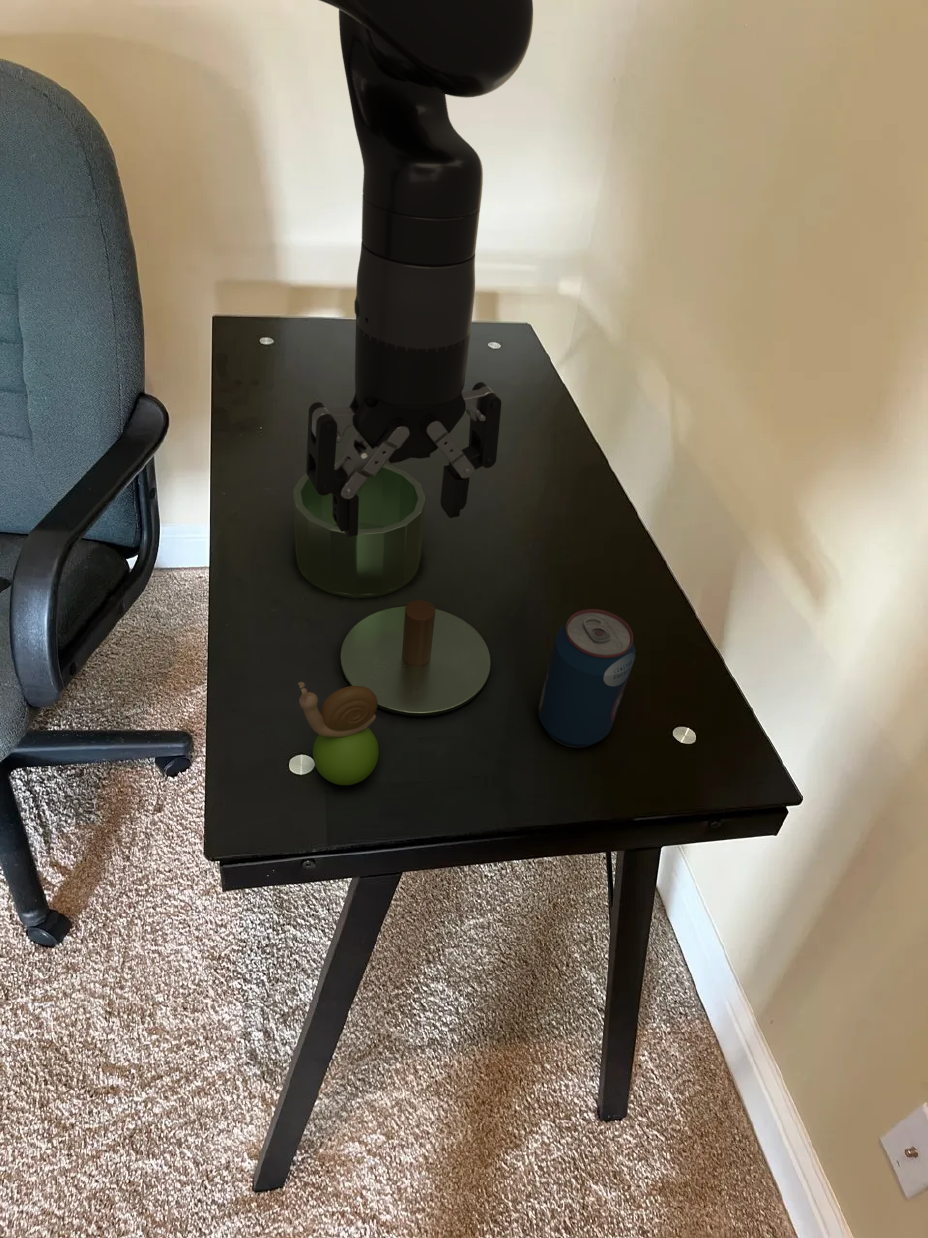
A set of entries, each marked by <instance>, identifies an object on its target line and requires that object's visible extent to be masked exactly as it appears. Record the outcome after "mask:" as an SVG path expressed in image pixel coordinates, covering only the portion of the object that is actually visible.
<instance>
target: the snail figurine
mask: <svg viewBox="0 0 928 1238" xmlns="http://www.w3.org/2000/svg"><path fill="white" fill-rule="evenodd" d="M297 687H298V689H299V690H300V697H299V700H298V702H299V706H300V708H301V709H302V710H303V714H304V717H305V718H306V721H307V724H309V726H310V728H311V729H312V730H313V731H314V732H315V733H316V734H318V735H317V736H316V738H315V741H314V743H313V746H312V747H313V748H312V759H313V763H314V766H315V768H316V770H317V771H318V773H319V774H320V775H321V776H322V777H323V778H324V779H325V780H326V781H328V782H330V783H331V784H335V785H338V786H352V785H355V784H358V783H360V782H362V781H364V780H366V779H367V778H368V777H369V776H370V775H371V773H372V772H373V771H374V770H375V768H376V765H377V763H378V759H379V756H380V755H379V753H380V752H379V751H380V749H379V743H378V740H377V738H376V736H375V734H374V733H373V731H372V730H371V729H370V728H369V726H370V725H372V724H373V723H374V721H375V720H376V718H377V715H376V714H375V713H376V712H377V709H378V707H377V705H378V703H377V698H376V695H375V694H374V693H373V692H372V691H371V690H370V689H368V688H366V687H362V686H350V685H349V686H346V687H345V686H344V687H342V688H340V689H337V690H336V691H334V692H333V693H331V694H330V695H329V696H328V697H327V698H326V699H325V700H324V702H323V704H322V706H321V709H320V710H319V707H318V703H319V698H318V696H317V694H315V693H314V692H311V691H308V689H307V688H306V683H305V682H304V681H299V682H298V684H297Z"/></svg>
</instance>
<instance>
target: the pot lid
mask: <svg viewBox="0 0 928 1238" xmlns="http://www.w3.org/2000/svg"><path fill="white" fill-rule="evenodd" d="M339 661H340V667H341V671H342V675H343V677H344V678H345V680H346V682H347V684H348V685H349V686H362V687H366V688H368V689H370V690H371V691H372V692H373V693H374V694H375V695H376V698H377V703H378V705H377V708H379V709H381V710H384V711H387V712H388V713H389V712H390V713H393V714H398V715H402V716H411V717H426V716H429V717H430V716H436V715H441V714H446V713H449V712H452V711H455V710H456V709H459V708H461V707H463V706H465V705H466V704H468V703H469V702H471V701H472V700H474V698H476V697H477V696H478V695H479V693H481V691H483V689H484V687H485V686H486V683H487V681H488V680H489V676H490V672H491V655H490V651H489V648H488V646H487V643H486V642H485V640H484V638H483V636H482V635H481V634H480V633H479V632H478V631H477V630H476V629H475V628H474V627H473V626H472V625H471V624H469V623H468V622H467V621H465V620H464V619H462V618H460V617H458V616H457V615H455V614H452V613H449V612H448V611H445V610H441V609H437V608H435V606H434V605H433V604H432V603H431V602H429V601H426V600H423V599H417V600H412V601H410V602H408V603H407V605H406V606H405V605H404V606H403V605H402V606H396V607H395V606H394V607H389V608H386V609H382V610H380V611H376V612H375V613H372V614H370V615H368V616H366V617H364V618H363V619H361V620H360V621H359V622H357V623H356V624H354V626H352V628H351V629H350V630H349V631H348V633H347V635H346V636H345V638H344V640H343V642H342V645H341V649H340V659H339Z"/></svg>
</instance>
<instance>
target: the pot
mask: <svg viewBox="0 0 928 1238" xmlns="http://www.w3.org/2000/svg"><path fill="white" fill-rule="evenodd" d="M338 462H339V460H335V466H336V465H337V463H338ZM357 496H358V497H359V509H358V535H357V536H353V537H347V535H346V534H345V532H344V531H343V532H341V531H340V529H339V527H338V526H337V524H336V522H335V520H334V518H333V517H332V506H333V505H332V493H330V494H328V495H325V496H323V495H320V494H318V492H317V491H316V489H315V487H314V486H313V484H312V482H311V480H310V479H309V477H308V475H307V474H306V473H305V474H303V475H301V476H300V478H299V479H298V480H297V483H296V485H295V487H294V488H293V490H292V500H293V501H292V503H293V524H294V525H293V526H294V545H295V547H294V548H295V557H296V564H297V569H298V570H299V572H300V573H301V575H302V577H303V578H304V579H305V580H306V581H307V582H308V583H310V585H312V586H314V587H315V588H317V589H319V590H322V591H323V592H325V593H328V594H331V595H335V596H339V597H344V598H350V599H369V598H375V597H376V598H377V597H381V596H385V595H389V594H392V593H394V592H396V591H398V590H400V589H402V588H403V587H405V586H407V585H408V584H409V583H410V582H411V581H412V580H413V579H414V577H415V576H416V574H417V573H418V570H419V568H420V567H419V566H420V561H421V559H422V549H423V536H424V525H425V524H424V523H425V512H426V501H427V498H426V496H425V493H424V490H423V487H422V485H421V483H420V482H419V481H417V480H416V479H415V478H414V477H413V476H412V475H410V474H409V473H408V472H406V470H405V471H404V470H402V469H400V468H398V467H396V466H393V465H390V464H388V463H387V462H386V463H385V464H384V466H383V467H382V468H381V469H380V471H379V472H378V473H377V475H376V476H375V477H373V478H371V477H370V478H368V479H367V481H366V482H365V483H364V485H363V486H362V487H361V488H360V490H359V491H358V492H357Z"/></svg>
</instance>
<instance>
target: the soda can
mask: <svg viewBox="0 0 928 1238" xmlns="http://www.w3.org/2000/svg"><path fill="white" fill-rule="evenodd" d="M633 633H634V632H633V630H632V628H631V627H630V625H629V624H628V623H627V622H626V621H625V620H624V619H623V618H621V617H620V616H618V615H617V614H615V613H612V612H610V611H607V610H604V609H597V608H596V609H595V608H588V609H582V610H578V611H576V612H574V613H573V614H571V615H570V617H568V619H567V620H566V623H564V624H563V625H562V626H561V627H560V628H559V630H558V631H557V632H556V635H555V638H554V641H553V646H552V651H551V655H550V659H549V663H548V666H547V671H546V675H545V680H544V684H543V687H542V690H541V691H542V692H541V695H540V699H539V704H538V709H537V711H538V712H537V713H538V718H539V720H540V723H541V725H542V727H543V728H544V730H545V731H546V734H548V735H549V736H550V738H551V739H553V740H554V741H556V742H557V743H558V744H560V745H562V746H565V747H569V748H577V749H578V748H580V749H581V748H586V747H590V746H593V745H595V744H597V743H599V742H601V741H602V740H603V739H604V738H606V737H607V736H608V735H609V733H610V732H611V730H612V727H613V725H614V722H615V719H616V716H617V713H618V710H619V706H620V703H621V701H622V698H623V696H624V692H625V689H626V686H627V683H628V680H629V677H630V674H631V671H632V668H633V665H634V663H635V659H636V648H635V644H634V634H633Z"/></svg>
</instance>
